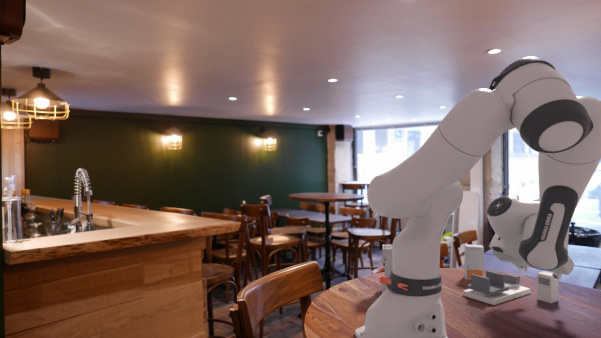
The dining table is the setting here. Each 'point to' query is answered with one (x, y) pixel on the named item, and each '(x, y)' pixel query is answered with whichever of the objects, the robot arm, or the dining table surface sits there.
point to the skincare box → (473, 261)
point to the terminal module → (547, 287)
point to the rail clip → (493, 283)
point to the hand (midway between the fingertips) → (540, 273)
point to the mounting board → (499, 295)
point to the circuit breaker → (387, 261)
